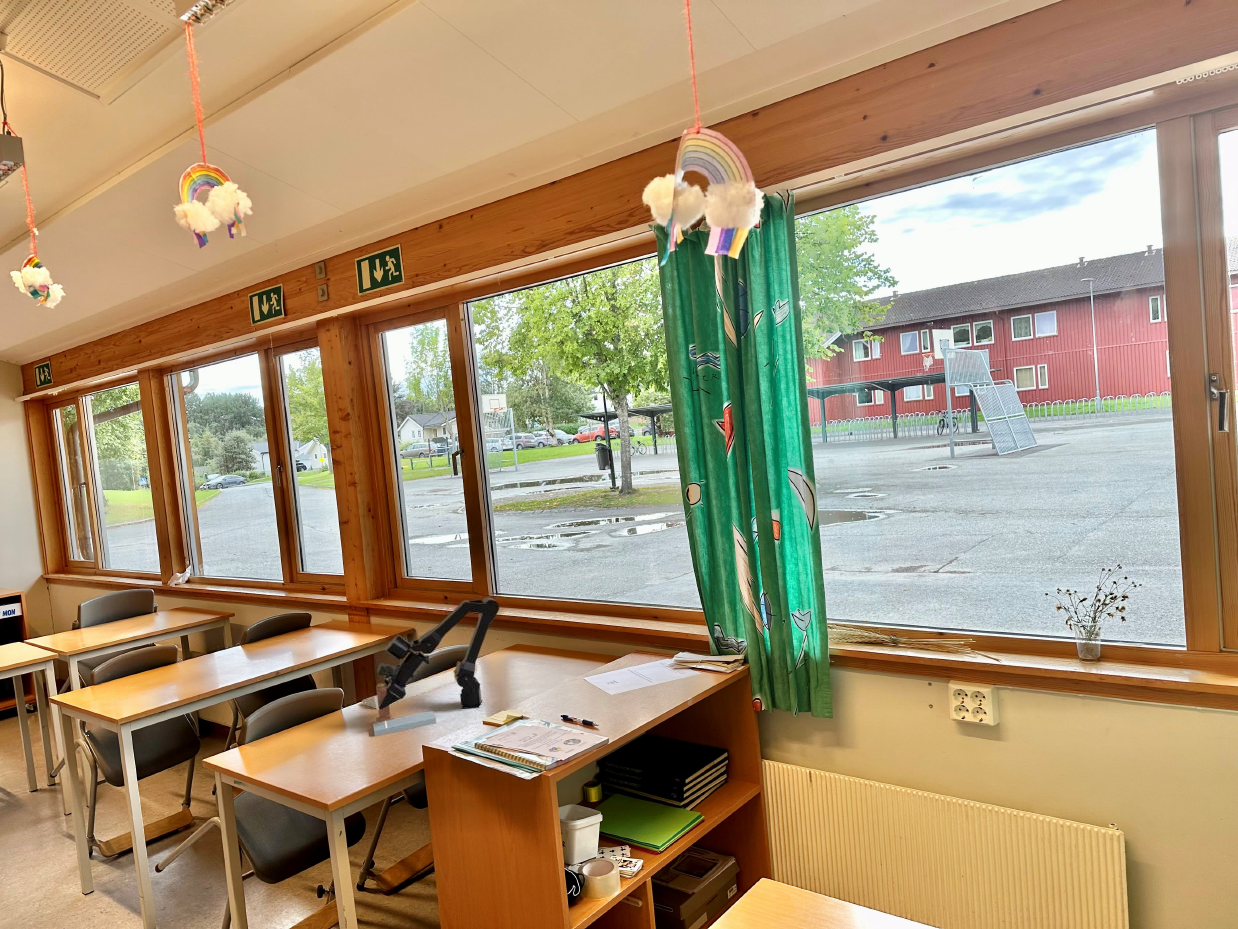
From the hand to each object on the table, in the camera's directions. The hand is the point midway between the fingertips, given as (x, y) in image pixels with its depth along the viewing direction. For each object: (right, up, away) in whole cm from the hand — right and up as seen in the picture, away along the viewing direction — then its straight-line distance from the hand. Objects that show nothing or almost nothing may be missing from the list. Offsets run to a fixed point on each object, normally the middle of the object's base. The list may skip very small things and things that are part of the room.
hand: (379, 705), depth 264 cm
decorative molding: (+2, -6, +33) cm, 34 cm away
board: (+10, -6, -4) cm, 12 cm away
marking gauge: (+2, -7, +1) cm, 7 cm away
